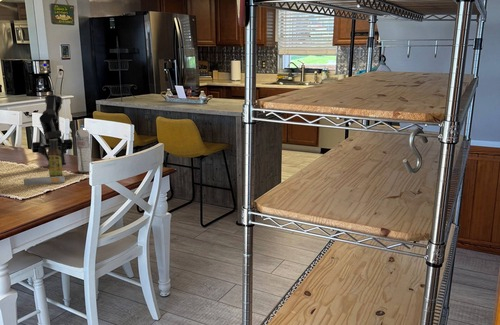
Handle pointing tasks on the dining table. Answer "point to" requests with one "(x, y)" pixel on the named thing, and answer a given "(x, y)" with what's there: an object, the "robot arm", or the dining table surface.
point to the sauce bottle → (54, 159)
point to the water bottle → (83, 149)
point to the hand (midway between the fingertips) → (55, 159)
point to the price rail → (44, 180)
